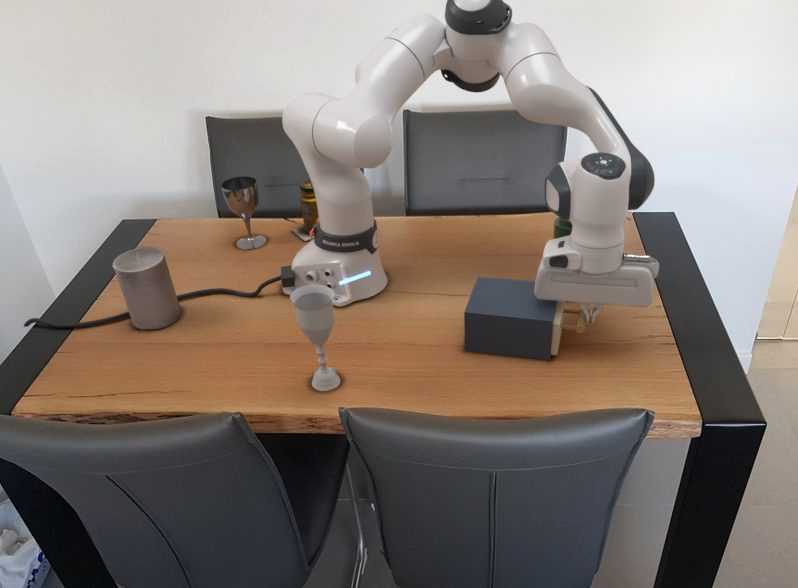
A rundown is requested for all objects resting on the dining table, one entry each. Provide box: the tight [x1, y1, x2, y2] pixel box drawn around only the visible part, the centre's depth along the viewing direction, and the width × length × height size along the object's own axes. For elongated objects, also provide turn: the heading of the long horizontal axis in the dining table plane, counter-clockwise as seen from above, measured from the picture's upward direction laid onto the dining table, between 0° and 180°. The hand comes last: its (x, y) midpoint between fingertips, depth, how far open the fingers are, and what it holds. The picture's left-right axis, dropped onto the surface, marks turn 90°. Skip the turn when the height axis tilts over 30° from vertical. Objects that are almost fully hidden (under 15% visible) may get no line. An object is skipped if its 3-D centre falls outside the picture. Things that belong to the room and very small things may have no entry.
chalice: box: [289, 285, 341, 392], centre depth 121 cm, size 7×7×18 cm
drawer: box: [551, 301, 587, 356], centre depth 131 cm, size 19×11×7 cm, turn 75°
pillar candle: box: [112, 246, 182, 331], centre depth 141 cm, size 10×10×15 cm
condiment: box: [291, 180, 319, 242], centre depth 171 cm, size 7×8×12 cm
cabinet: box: [463, 276, 557, 361], centre depth 132 cm, size 16×13×9 cm
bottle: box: [552, 216, 572, 239], centre depth 140 cm, size 6×6×20 cm
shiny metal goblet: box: [221, 175, 267, 250], centre depth 167 cm, size 8×8×15 cm
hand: (590, 321), depth 128 cm, fingers closed
